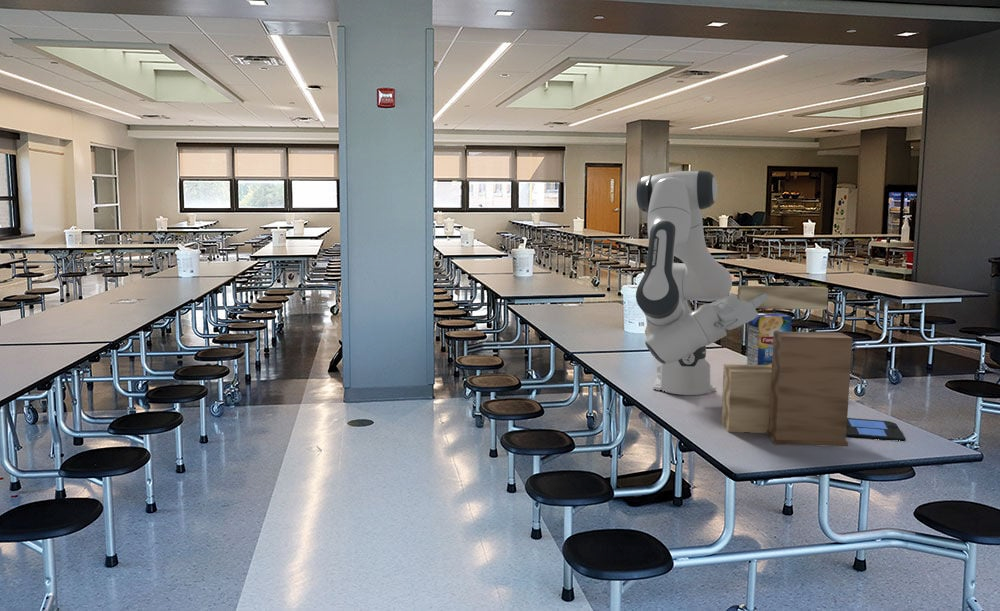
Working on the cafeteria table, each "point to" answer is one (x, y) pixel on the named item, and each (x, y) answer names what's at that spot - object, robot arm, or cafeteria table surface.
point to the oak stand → (746, 398)
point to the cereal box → (765, 336)
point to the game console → (873, 429)
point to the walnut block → (809, 388)
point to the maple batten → (787, 296)
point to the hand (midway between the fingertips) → (763, 294)
